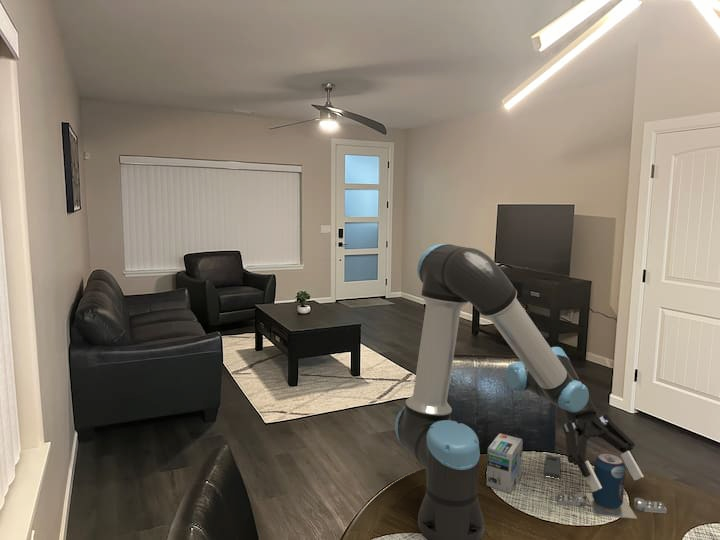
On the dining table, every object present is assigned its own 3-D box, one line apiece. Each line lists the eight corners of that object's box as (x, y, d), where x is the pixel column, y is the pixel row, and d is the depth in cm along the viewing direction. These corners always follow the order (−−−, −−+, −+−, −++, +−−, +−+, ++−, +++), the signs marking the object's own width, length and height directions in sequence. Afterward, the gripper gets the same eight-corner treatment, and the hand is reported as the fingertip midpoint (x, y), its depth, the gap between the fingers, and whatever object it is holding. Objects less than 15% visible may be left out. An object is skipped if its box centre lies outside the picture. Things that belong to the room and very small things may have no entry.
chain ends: (561, 512, 123) (562, 504, 123) (553, 491, 132) (553, 483, 132) (672, 521, 120) (673, 513, 120) (655, 499, 129) (656, 491, 129)
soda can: (626, 512, 123) (630, 466, 121) (596, 509, 124) (599, 463, 122) (617, 496, 130) (620, 452, 128) (588, 493, 131) (591, 449, 129)
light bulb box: (510, 494, 131) (512, 454, 130) (485, 486, 135) (486, 447, 133) (521, 475, 140) (523, 438, 139) (497, 468, 144) (499, 432, 142)
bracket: (544, 478, 139) (545, 471, 139) (545, 460, 149) (546, 454, 149) (560, 481, 138) (560, 474, 138) (560, 463, 148) (560, 456, 147)
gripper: (602, 401, 142) (645, 478, 131) (530, 415, 133) (570, 499, 122) (619, 390, 137) (666, 469, 125) (546, 403, 128) (588, 490, 116)
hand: (618, 484), depth 123 cm, fingers open, 13 cm apart
